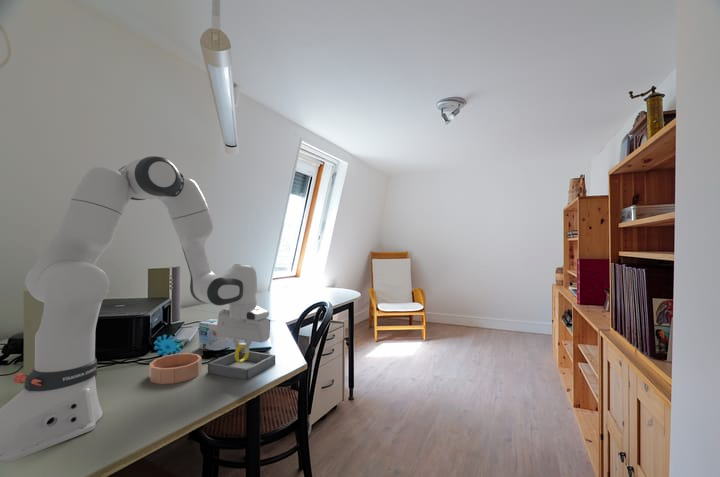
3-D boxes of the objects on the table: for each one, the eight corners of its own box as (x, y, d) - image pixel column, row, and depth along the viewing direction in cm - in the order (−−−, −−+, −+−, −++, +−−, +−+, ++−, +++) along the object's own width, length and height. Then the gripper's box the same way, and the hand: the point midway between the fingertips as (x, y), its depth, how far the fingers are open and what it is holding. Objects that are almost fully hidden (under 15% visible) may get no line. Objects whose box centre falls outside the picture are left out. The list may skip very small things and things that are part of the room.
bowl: (173, 386, 105) (173, 371, 105) (139, 379, 110) (139, 364, 110) (210, 369, 118) (210, 356, 118) (178, 363, 124) (178, 351, 124)
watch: (244, 358, 123) (245, 341, 124) (250, 359, 122) (251, 342, 123) (232, 363, 118) (233, 345, 118) (239, 364, 117) (240, 346, 117)
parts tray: (246, 379, 110) (246, 370, 110) (207, 372, 116) (207, 363, 116) (275, 363, 125) (275, 355, 125) (239, 357, 131) (240, 349, 131)
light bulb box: (198, 348, 141) (198, 321, 141) (211, 344, 147) (211, 318, 147) (217, 352, 136) (217, 324, 136) (230, 347, 142) (230, 321, 142)
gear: (159, 358, 125) (152, 334, 129) (151, 367, 126) (144, 344, 131) (188, 354, 134) (181, 332, 138) (181, 363, 136) (173, 341, 140)
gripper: (212, 310, 121) (211, 350, 121) (261, 316, 114) (260, 358, 113) (225, 307, 127) (224, 345, 127) (273, 312, 119) (272, 353, 119)
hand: (242, 351), depth 120 cm, fingers closed on watch
